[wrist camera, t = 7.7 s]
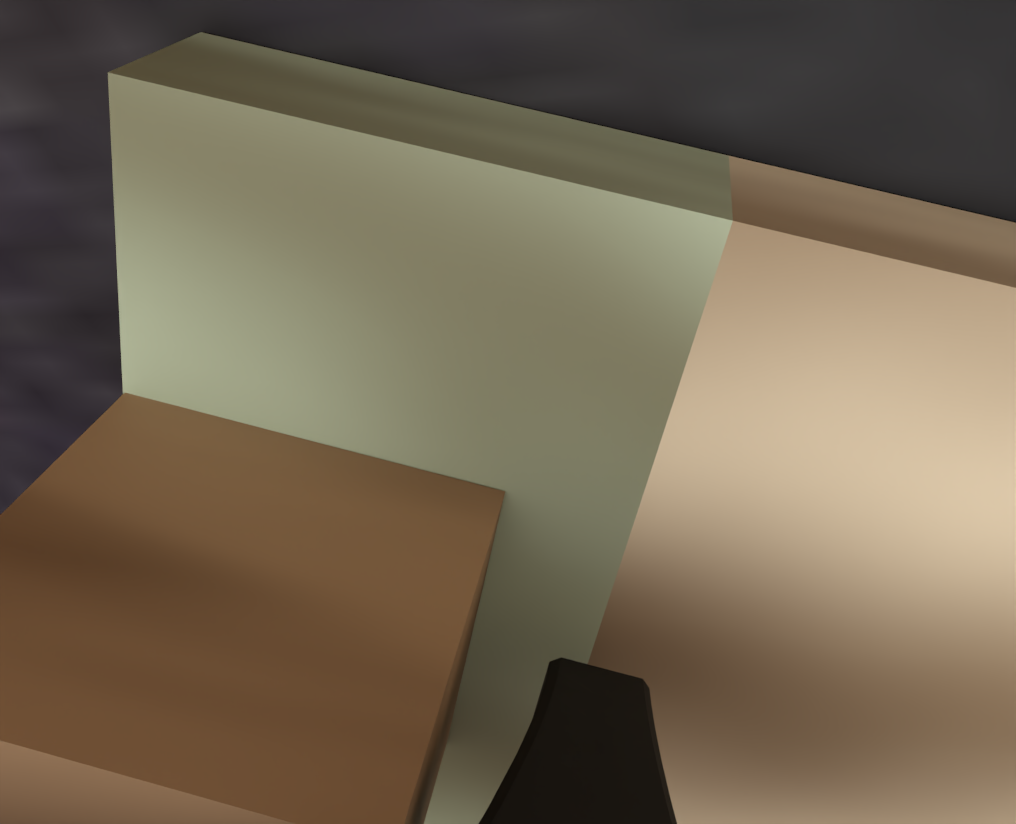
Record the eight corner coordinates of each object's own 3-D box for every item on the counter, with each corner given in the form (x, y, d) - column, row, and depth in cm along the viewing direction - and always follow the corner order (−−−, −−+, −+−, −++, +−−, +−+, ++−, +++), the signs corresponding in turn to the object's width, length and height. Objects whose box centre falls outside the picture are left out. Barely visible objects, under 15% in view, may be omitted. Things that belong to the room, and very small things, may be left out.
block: (446, 745, 13) (341, 1111, 10) (136, 659, 14) (-87, 985, 10) (505, 491, 11) (396, 851, 7) (125, 391, 11) (-179, 690, 7)
